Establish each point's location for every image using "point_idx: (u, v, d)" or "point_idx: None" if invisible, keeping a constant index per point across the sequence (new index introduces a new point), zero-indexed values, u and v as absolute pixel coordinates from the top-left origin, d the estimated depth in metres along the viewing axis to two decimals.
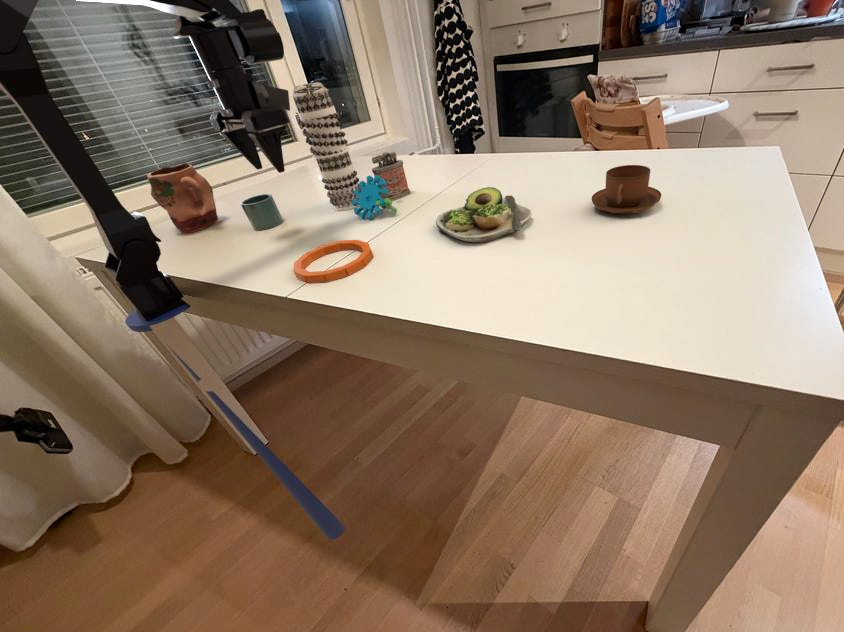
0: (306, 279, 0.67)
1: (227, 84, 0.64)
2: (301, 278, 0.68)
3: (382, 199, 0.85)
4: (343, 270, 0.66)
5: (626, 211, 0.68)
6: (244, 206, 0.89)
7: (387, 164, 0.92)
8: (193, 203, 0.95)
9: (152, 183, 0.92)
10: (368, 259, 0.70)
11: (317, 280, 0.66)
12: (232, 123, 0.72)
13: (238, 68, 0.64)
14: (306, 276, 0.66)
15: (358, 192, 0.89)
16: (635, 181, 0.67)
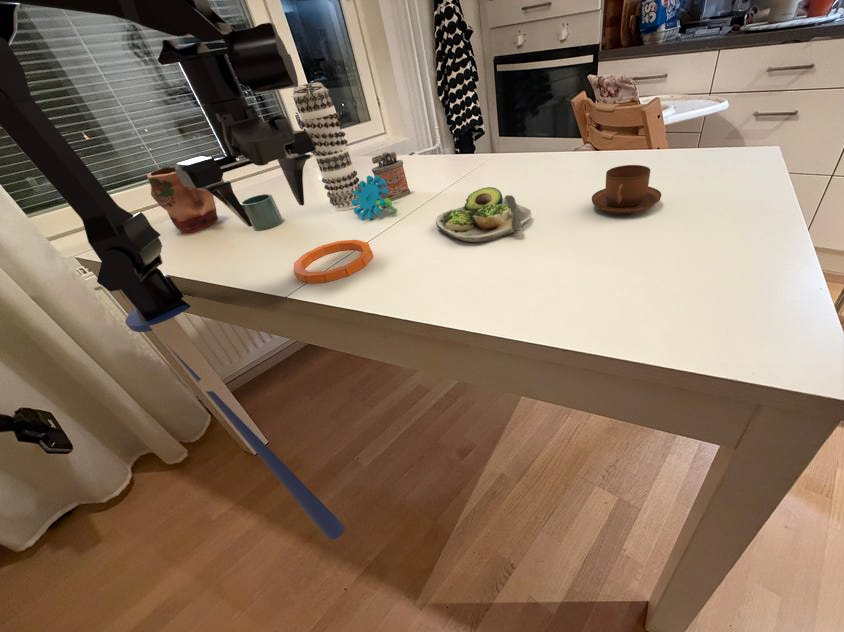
0: (306, 279, 0.67)
1: (208, 120, 0.54)
2: (301, 278, 0.68)
3: (382, 199, 0.85)
4: (343, 270, 0.66)
5: (626, 211, 0.68)
6: (244, 206, 0.89)
7: (387, 164, 0.92)
8: (193, 203, 0.95)
9: (152, 183, 0.92)
10: (368, 259, 0.70)
11: (317, 280, 0.66)
12: None
13: (207, 106, 0.51)
14: (306, 276, 0.66)
15: (358, 192, 0.89)
16: (635, 181, 0.67)
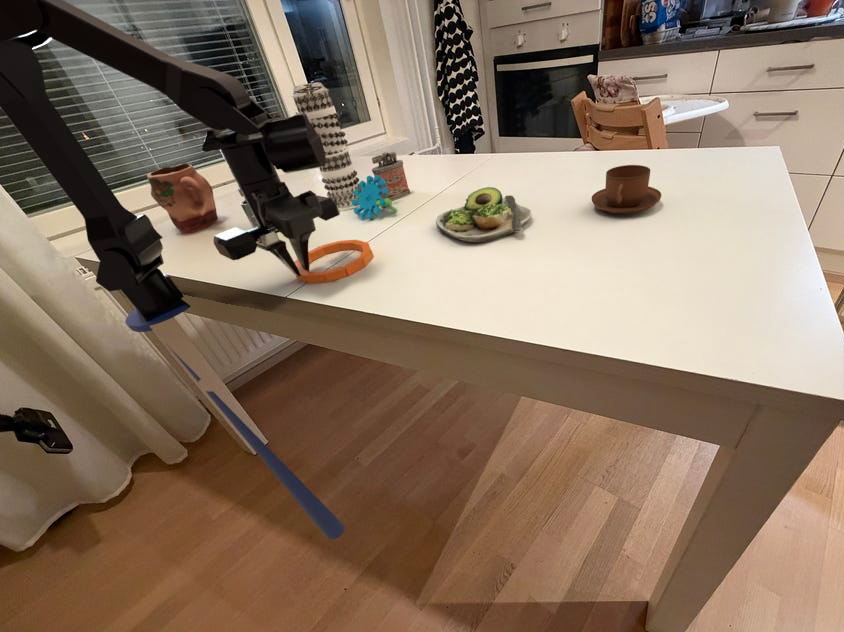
0: (306, 279, 0.67)
1: (244, 195, 0.59)
2: (301, 278, 0.68)
3: (382, 199, 0.85)
4: (343, 270, 0.66)
5: (626, 211, 0.68)
6: (244, 206, 0.89)
7: (387, 164, 0.92)
8: (193, 203, 0.95)
9: (152, 183, 0.92)
10: (368, 259, 0.70)
11: (317, 280, 0.66)
12: None
13: (244, 186, 0.56)
14: (306, 276, 0.66)
15: (358, 192, 0.89)
16: (635, 181, 0.67)
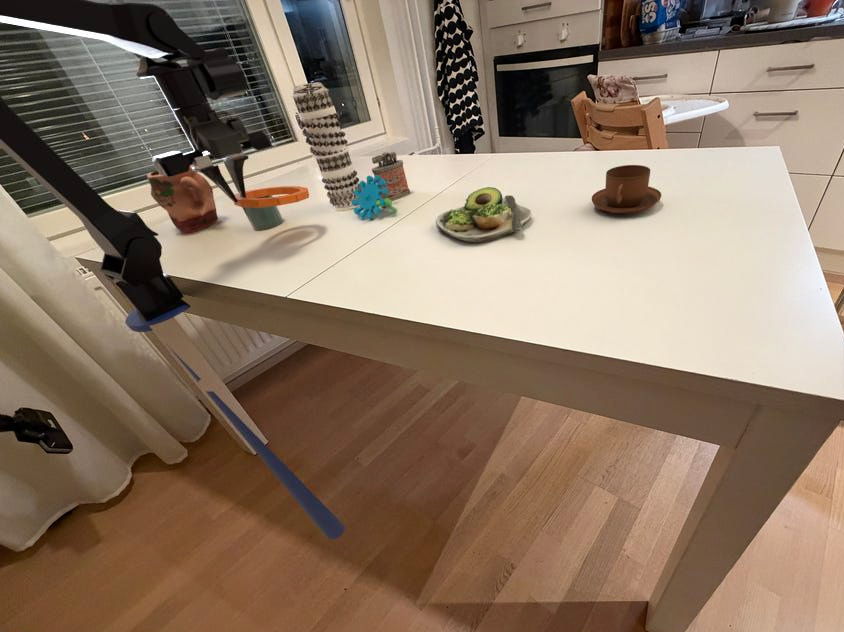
0: (241, 203, 0.75)
1: None
2: (237, 203, 0.76)
3: (382, 199, 0.85)
4: (275, 199, 0.74)
5: (626, 211, 0.68)
6: None
7: (387, 164, 0.92)
8: (193, 203, 0.95)
9: (152, 183, 0.92)
10: (302, 197, 0.79)
11: (250, 205, 0.74)
12: None
13: (176, 110, 0.64)
14: (241, 200, 0.74)
15: (358, 192, 0.89)
16: (635, 181, 0.67)
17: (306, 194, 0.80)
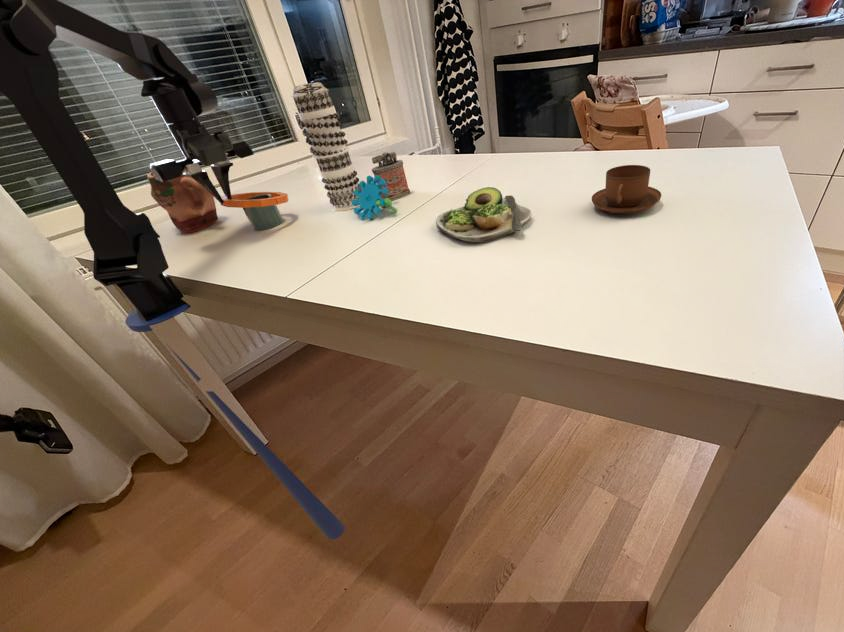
0: (227, 204, 0.86)
1: (173, 134, 0.78)
2: (223, 204, 0.87)
3: (382, 199, 0.85)
4: (257, 201, 0.86)
5: (626, 211, 0.68)
6: None
7: (387, 164, 0.92)
8: (193, 203, 0.95)
9: (152, 183, 0.92)
10: (282, 201, 0.90)
11: (235, 205, 0.85)
12: None
13: (170, 125, 0.75)
14: (227, 201, 0.85)
15: (358, 192, 0.89)
16: (635, 181, 0.67)
17: (285, 198, 0.91)
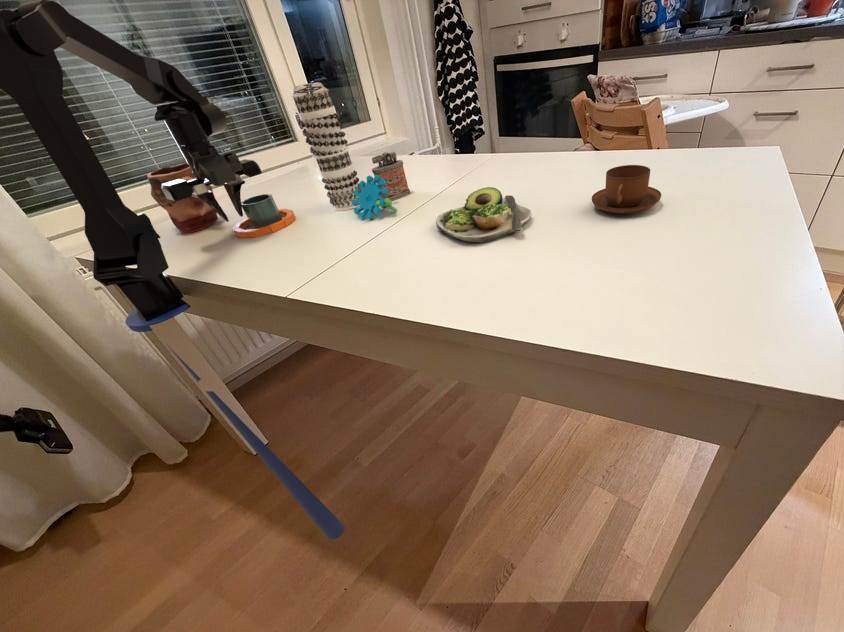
0: (241, 235, 0.90)
1: (184, 155, 0.80)
2: (238, 235, 0.91)
3: (382, 199, 0.85)
4: (268, 228, 0.89)
5: (626, 211, 0.68)
6: (244, 206, 0.89)
7: (387, 164, 0.92)
8: (193, 203, 0.95)
9: (152, 183, 0.92)
10: (290, 221, 0.93)
11: (249, 235, 0.89)
12: None
13: (182, 147, 0.78)
14: (241, 233, 0.89)
15: (358, 192, 0.89)
16: (635, 181, 0.67)
17: (292, 218, 0.94)
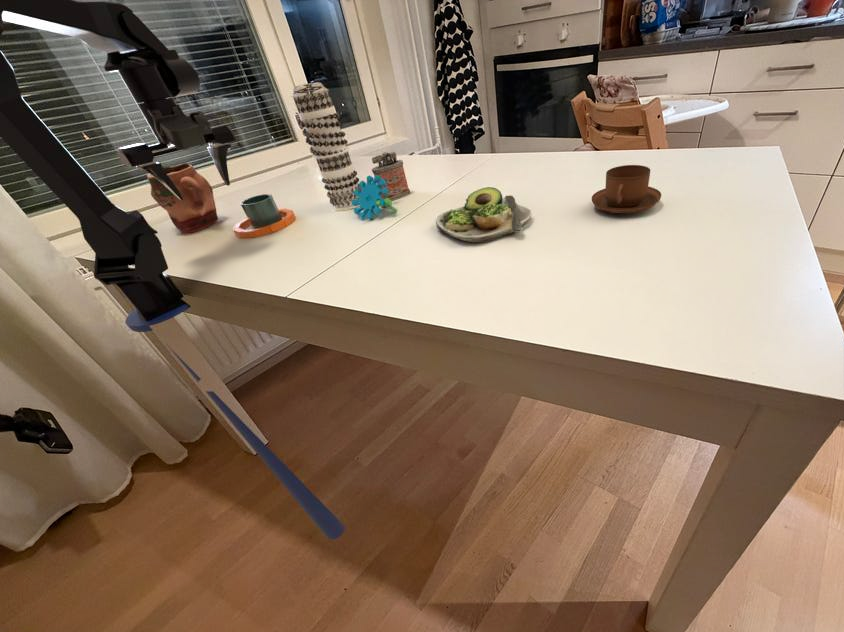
0: (241, 235, 0.90)
1: None
2: (238, 235, 0.91)
3: (382, 199, 0.85)
4: (268, 228, 0.89)
5: (626, 211, 0.68)
6: (244, 206, 0.89)
7: (387, 164, 0.92)
8: (193, 203, 0.95)
9: (152, 183, 0.92)
10: (290, 221, 0.93)
11: (249, 235, 0.89)
12: None
13: (141, 104, 0.67)
14: (241, 233, 0.89)
15: (358, 192, 0.89)
16: (635, 181, 0.67)
17: (292, 218, 0.94)
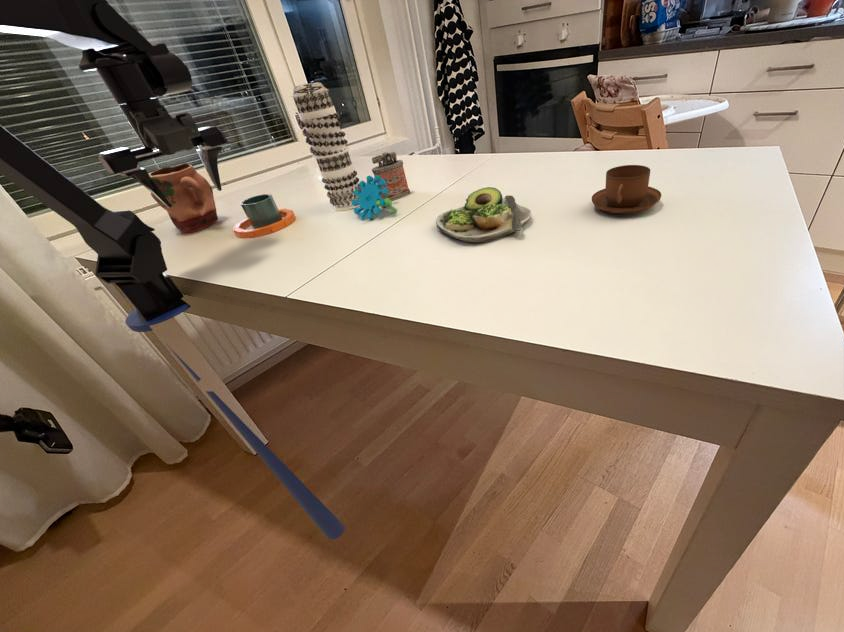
0: (241, 235, 0.90)
1: None
2: (238, 235, 0.91)
3: (382, 199, 0.85)
4: (268, 228, 0.89)
5: (626, 211, 0.68)
6: (244, 206, 0.89)
7: (387, 164, 0.92)
8: (193, 203, 0.95)
9: None
10: (290, 221, 0.93)
11: (249, 235, 0.89)
12: None
13: (122, 105, 0.62)
14: (241, 233, 0.89)
15: (358, 192, 0.89)
16: (635, 181, 0.67)
17: (292, 218, 0.94)
